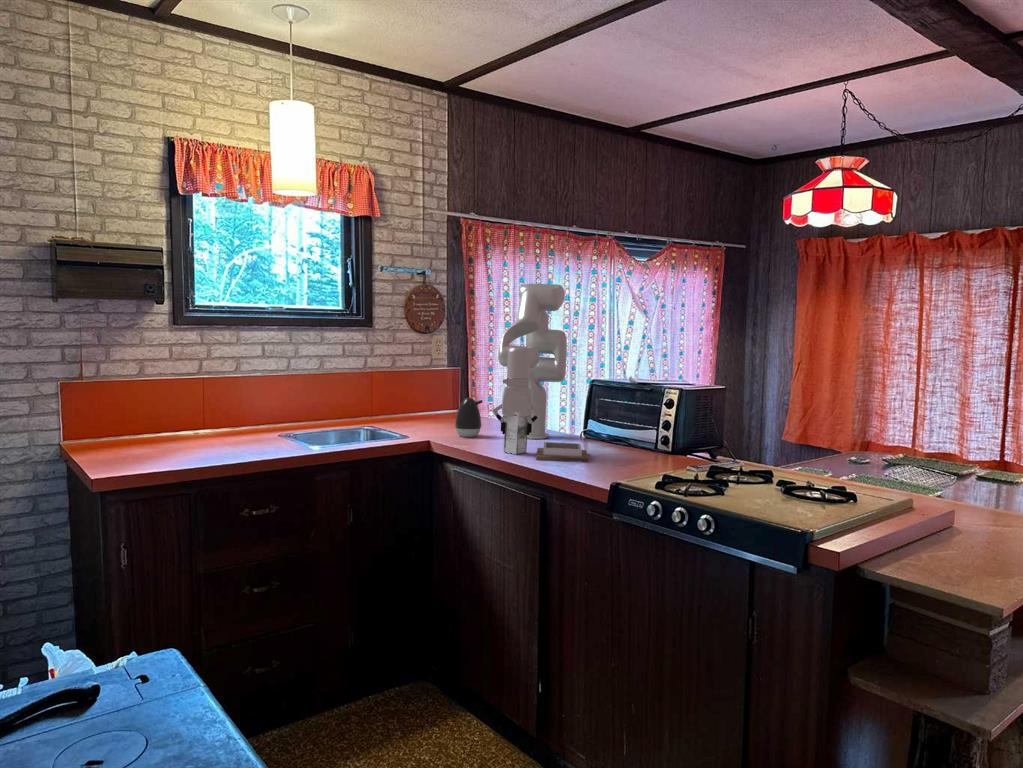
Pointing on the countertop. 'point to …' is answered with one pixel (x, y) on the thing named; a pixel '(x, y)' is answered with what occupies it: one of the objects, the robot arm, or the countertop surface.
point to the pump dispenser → (468, 418)
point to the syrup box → (515, 434)
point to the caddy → (562, 452)
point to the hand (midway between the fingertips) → (516, 434)
